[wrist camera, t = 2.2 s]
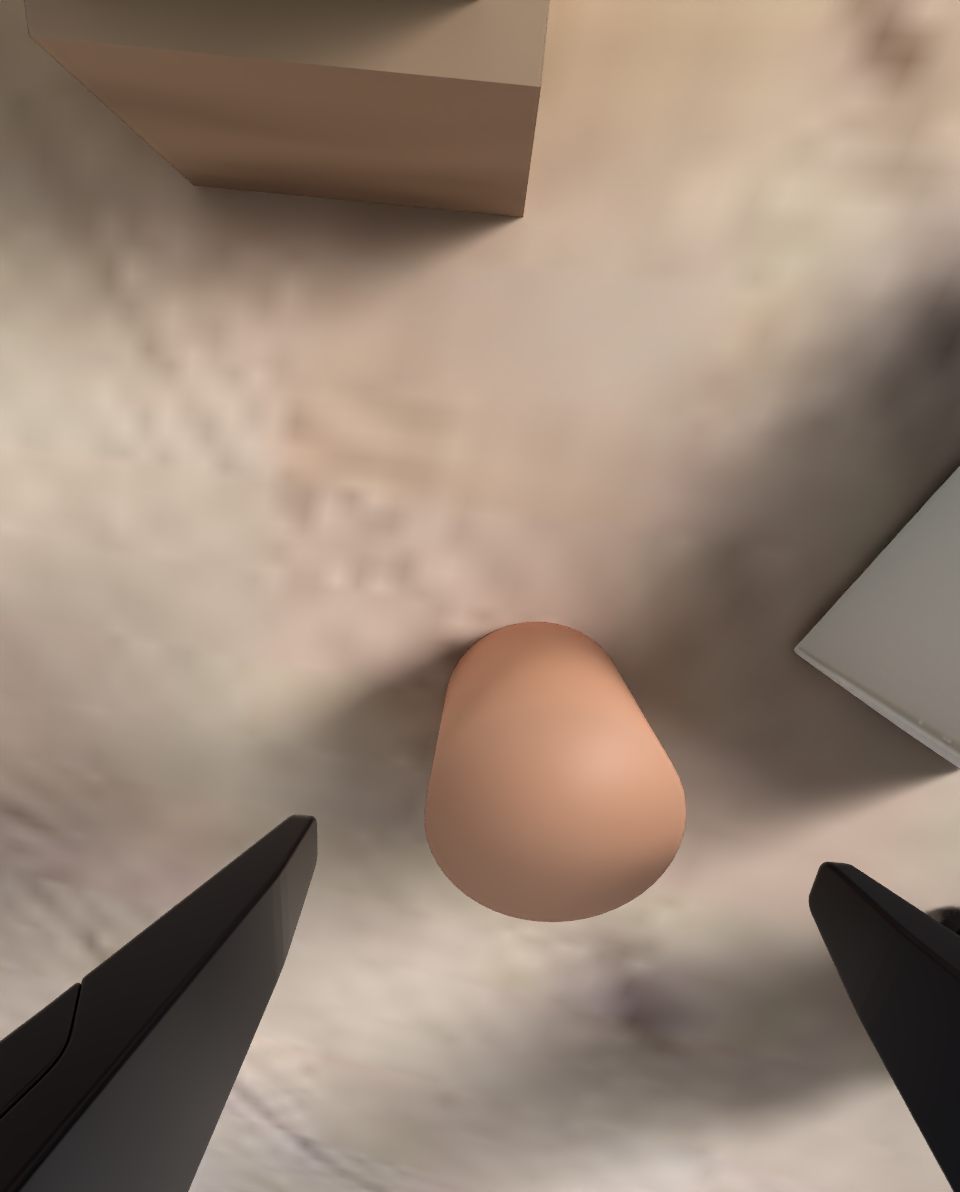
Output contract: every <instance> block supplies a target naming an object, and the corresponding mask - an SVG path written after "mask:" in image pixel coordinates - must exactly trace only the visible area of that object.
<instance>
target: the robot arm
mask: <svg viewBox="0 0 960 1192" xmlns="http://www.w3.org/2000/svg"><path fill="white" fill-rule="evenodd" d="M316 861H317V822H316V819H315V818H314V817H313V816H305V815H292V816H290V817H289V818H287V819H286V820H285V821H283V822H282V823H281V824H280V825H278V826H277V827H276V828H274V829H273V830H272V831H271V832H269V833H268V834H267V835H265V836H264V837H263V838H262V839H260V840H259V841H258V842H256V843H255V844H254V845H253V846H251V847H250V848H249V849H248V850H246V851H245V852H244V853H242V854H241V855H240V856H239V857H237V858H236V859H235V860H233V861H232V862H231V863H230V864H228V865H227V866H226V867H224V868H223V869H222V870H221V871H219V872H218V873H217V874H216V875H214V876H213V877H212V878H210V879H209V880H208V881H207V882H205V883H204V884H203V885H201V886H200V887H199V888H198V889H196V890H195V891H194V892H192V893H191V894H190V895H189V896H187V897H186V898H185V899H183V900H182V901H181V902H180V903H178V904H177V905H176V906H175V907H173V908H172V909H171V910H169V911H168V912H167V913H166V914H164V915H163V916H162V917H160V918H159V919H158V920H157V921H155V922H154V923H153V924H151V925H150V926H149V927H148V928H146V929H145V930H144V931H143V932H141V933H140V934H139V935H137V936H136V937H135V938H134V939H132V940H131V941H130V942H128V943H127V944H126V945H125V946H123V947H122V948H121V949H119V950H118V951H117V952H116V953H114V954H113V955H112V956H111V957H109V958H108V959H107V960H105V961H104V962H103V963H102V964H100V965H99V966H98V967H96V968H95V969H94V970H93V971H91V972H90V973H89V974H87V975H86V976H85V977H84V978H83V980H82V983H81V984H80V983H76V984H74V985H73V986H72V987H70V988H69V989H68V990H67V991H65V992H64V993H63V994H62V995H60V996H59V997H58V998H56V999H55V1000H54V1001H53V1002H51V1003H50V1004H49V1005H47V1006H46V1007H45V1008H44V1009H42V1010H41V1011H40V1012H38V1013H37V1014H36V1015H34V1016H33V1017H32V1018H30V1019H29V1020H28V1021H26V1022H25V1023H24V1024H22V1025H21V1026H20V1027H18V1028H17V1029H16V1030H14V1031H13V1032H12V1033H10V1034H9V1035H8V1036H7V1037H5V1038H4V1039H3V1040H1V1041H0V1192H188V1191H189V1188H190V1186H191V1183H192V1181H193V1179H194V1176H195V1174H196V1172H197V1169H198V1167H199V1165H200V1162H201V1160H202V1158H203V1155H204V1153H205V1150H206V1148H207V1146H208V1143H209V1141H210V1139H211V1136H212V1134H213V1132H214V1129H215V1127H216V1125H217V1122H218V1120H219V1117H220V1115H221V1113H222V1110H223V1108H224V1106H225V1103H226V1101H227V1099H228V1096H229V1094H230V1092H231V1089H232V1087H233V1084H234V1082H235V1080H236V1077H237V1075H238V1073H239V1070H240V1068H241V1066H242V1063H243V1061H244V1059H245V1056H246V1054H247V1051H248V1049H249V1047H250V1044H251V1042H252V1040H253V1037H254V1035H255V1033H256V1030H257V1028H258V1026H259V1023H260V1021H261V1018H262V1016H263V1014H264V1011H265V1009H266V1007H267V1004H268V1002H269V1000H270V997H271V995H272V993H273V990H274V988H275V985H276V983H277V981H278V978H279V976H280V973H281V971H282V968H283V966H284V963H285V960H286V957H287V954H288V951H289V948H290V945H291V942H292V939H293V935H294V932H295V929H296V926H297V923H298V920H299V916H300V913H301V910H302V907H303V904H304V901H305V898H306V894H307V891H308V888H309V885H310V882H311V879H312V875H313V872H314V869H315V865H316ZM809 907H810V911H811V913H812V916H813V918H814V920H815V922H816V925H817V927H818V929H819V931H820V934H821V936H822V938H823V940H824V942H825V945H826V947H827V949H828V951H829V953H830V956H831V958H832V960H833V962H834V965H835V967H836V969H837V971H838V973H839V976H840V978H841V980H842V982H843V984H844V987H845V989H846V991H847V993H848V996H849V998H850V1000H851V1002H852V1004H853V1006H854V1008H855V1010H856V1012H857V1014H858V1016H859V1018H860V1020H861V1022H862V1024H863V1026H864V1028H865V1030H866V1032H867V1034H868V1036H869V1037H870V1039H871V1041H872V1043H873V1045H874V1047H875V1048H876V1050H877V1052H878V1054H879V1056H880V1058H881V1059H882V1061H883V1063H884V1065H885V1067H886V1069H887V1070H888V1072H889V1074H890V1076H891V1078H892V1080H893V1081H894V1083H895V1085H896V1087H897V1089H898V1091H899V1092H900V1094H901V1096H902V1098H903V1100H904V1102H905V1103H906V1105H907V1107H908V1109H909V1111H910V1113H911V1114H912V1116H913V1118H914V1120H915V1122H916V1124H917V1126H918V1127H919V1129H920V1131H921V1133H922V1135H923V1137H924V1138H925V1140H926V1142H927V1144H928V1146H929V1148H930V1149H931V1151H932V1153H933V1155H934V1157H935V1159H936V1160H937V1162H938V1164H939V1166H940V1168H941V1170H942V1171H943V1173H944V1175H945V1177H946V1179H947V1181H948V1182H949V1184H950V1186H951V1188H952V1190H953V1192H960V912H956V913H953V914H951V915H950V916H948V917H947V918H946V919H945V920H944V922H943V923H942V924H940V923H939V922H937V921H936V920H934V919H933V918H931V917H930V916H928V915H927V914H925V913H924V912H922V911H921V910H919V909H918V908H916V907H914V906H913V905H911V904H910V903H908V902H907V901H905V900H904V899H902V898H901V897H899V896H898V895H896V894H895V893H893V892H892V891H890V890H889V889H887V888H886V887H884V886H883V885H881V884H880V883H878V882H876V881H875V880H873V879H872V878H870V877H869V876H867V875H866V874H864V873H863V872H861V871H860V870H858V869H857V868H855V867H854V866H852V865H849V864H846V863H836V862H824V863H823V864H822V865H821V866H820V867H819V870H818V873H817V875H816V878H815V881H814V883H813V886H812V889H811V892H810V894H809Z"/></svg>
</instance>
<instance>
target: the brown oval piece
mask: <svg viewBox="0 0 960 1192" xmlns="http://www.w3.org/2000/svg"><path fill="white" fill-rule="evenodd" d="M685 823H686V802H685V795H684V791H683V787H682V784H681V781H680V778H679V776H678V774H677V772H676V770H675V768H674V766H673V764H672V763H671V761H670V759H669V758H668V756H667V754H666V752H665V751H664V749H663V747H662V746H661V744H660V742H659V740H658V739H657V737H656V735H655V734H654V732H653V730H652V729H651V727H650V725H649V723H648V722H647V720H646V718H645V717H644V715H643V713H642V711H641V710H640V708H639V706H638V705H637V703H636V701H635V699H634V698H633V696H632V694H631V693H630V691H629V689H628V687H627V686H626V684H625V682H624V681H623V679H622V677H621V675H620V674H619V672H618V670H617V669H616V667H615V665H614V663H613V662H612V660H611V659H610V658H609V656H608V655H607V653H606V652H605V651H604V650H603V649H602V648H601V647H600V646H599V645H598V644H597V643H595V642H594V641H593V640H592V639H590V638H589V637H587V636H585V635H584V634H582V633H580V632H578V631H576V630H574V629H571V628H569V627H566V626H562V625H559V624H553V623H547V622H527V623H519V624H514V625H510V626H507V627H504V628H501V629H498V630H496V631H494V632H492V633H490V634H488V635H486V636H485V637H483V638H482V639H480V640H479V641H477V642H476V643H475V644H474V645H473V646H472V647H471V648H469V649H468V650H467V652H466V653H465V654H464V655H463V656H462V657H461V659H460V660H459V662H458V663H457V665H456V666H455V668H454V670H453V673H452V675H451V677H450V680H449V684H448V687H447V692H446V697H445V703H444V708H443V713H442V719H441V724H440V729H439V734H438V740H437V745H436V750H435V756H434V761H433V766H432V772H431V777H430V782H429V787H428V793H427V798H426V805H425V830H426V836H427V840H428V843H429V846H430V849H431V852H432V854H433V856H434V858H435V860H436V862H437V864H438V865H439V867H440V868H441V870H442V871H443V872H444V874H445V875H446V877H447V878H448V879H449V880H450V881H451V882H452V883H453V884H454V885H455V886H456V887H457V888H458V889H460V890H461V891H462V892H463V893H464V894H466V895H467V896H468V897H470V898H471V899H473V900H475V901H476V902H478V903H479V904H481V905H483V906H485V907H487V908H489V909H491V910H494V911H496V912H499V913H502V914H505V915H508V916H512V917H516V918H520V919H525V920H532V921H542V922H561V921H573V920H579V919H585V918H589V917H593V916H597V915H600V914H603V913H606V912H608V911H611V910H614V909H616V908H618V907H620V906H622V905H624V904H626V903H628V902H630V901H631V900H633V899H634V898H636V897H637V896H639V895H640V894H642V893H643V892H644V891H645V890H647V889H648V888H649V887H650V886H651V885H653V884H654V883H655V882H656V881H657V879H658V878H659V877H660V876H661V875H662V874H663V873H664V872H665V870H666V869H667V867H668V866H669V865H670V863H671V862H672V860H673V858H674V856H675V854H676V852H677V851H678V849H679V846H680V843H681V840H682V837H683V834H684V828H685Z"/></svg>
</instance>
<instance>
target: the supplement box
mask: <svg viewBox="0 0 960 1192" xmlns="http://www.w3.org/2000/svg"><path fill="white" fill-rule="evenodd" d="M794 651H795V653H796V654H797V655H799V656H800V657H801V658H803V659H804V660H806V661H807V662H808V663H810V664H811V665H813V666H814V667H815V668H817V669H818V670H819V671H821V672H822V673H824V674H825V675H826V676H828V677H829V678H830V679H832V680H833V681H835V682H836V683H837V684H839V685H840V686H842V687H843V688H845V689H846V690H847V691H849V692H850V693H852V694H853V695H854V696H856V697H857V698H859V699H860V700H861V701H863V702H864V703H866V704H867V705H868V706H870V707H871V708H873V709H874V710H875V711H877V712H878V713H880V714H881V715H882V716H884V717H885V718H887V719H888V720H889V721H891V722H892V723H894V724H895V725H896V726H898V727H899V728H901V729H902V730H904V731H905V732H907V733H908V734H910V735H911V736H912V737H914V738H915V739H917V740H918V741H920V742H921V743H923V744H924V745H926V746H927V747H929V748H930V749H932V750H933V751H934V752H936V753H937V754H939V755H940V756H942V757H943V758H945V759H946V760H948V761H949V762H951V763H952V764H954V765H955V766H956V767H958V768H959V769H960V466H959V467H958V468H957V469H956V470H955V472H954V473H953V474H952V475H951V476H950V477H949V478H948V479H947V480H946V481H945V482H944V484H943V485H942V486H941V487H940V488H939V489H938V490H937V491H936V492H935V493H934V494H933V495H932V496H931V498H930V499H929V500H928V501H927V502H926V503H925V504H924V505H923V507H922V508H921V509H920V510H919V511H918V512H917V514H916V515H915V516H914V517H913V518H912V519H911V520H910V521H909V522H908V523H907V524H906V525H905V527H904V528H903V529H902V530H901V531H900V532H899V533H898V534H897V536H896V537H895V538H894V539H893V540H892V541H891V542H890V543H889V545H888V546H887V547H886V548H885V549H884V550H883V551H882V552H881V553H880V554H879V555H878V556H877V558H876V559H875V560H874V561H873V562H872V563H871V565H870V566H869V567H868V568H867V569H866V570H865V571H864V572H863V573H862V575H861V576H860V577H859V578H858V579H857V580H856V581H855V582H854V583H853V584H852V585H851V586H850V587H849V589H848V590H847V591H846V592H845V593H844V594H843V595H842V596H841V597H840V599H839V600H838V601H837V602H836V603H835V604H834V605H833V606H832V607H831V609H830V610H829V611H828V612H827V613H826V614H825V615H824V617H823V618H822V619H821V620H820V621H819V622H818V623H817V624H816V625H815V626H814V627H813V628H812V630H811V631H810V632H809V633H808V634H807V635H806V636H805V637H804V638H803V639H802V640H801V642H800V643H799V644H798V645H797V646H796V647H795V649H794Z"/></svg>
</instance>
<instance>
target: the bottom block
mask: <svg viewBox="0 0 960 1192" xmlns="http://www.w3.org/2000/svg"><path fill="white" fill-rule="evenodd" d="M549 1H550V0H24V4H25V11H26V17H27V24H28V31H29V36H30V37H31V38H32V39H33V40H34V41H35V42H36V43H37V44H39V45H40V46H41V47H42V48H43V49H44V50H45V51H46V52H47V53H48V54H50V55H51V56H52V57H53V58H54V59H55V60H56V61H57V62H58V63H59V64H61V65H62V66H63V67H64V68H65V69H66V70H67V71H68V72H69V73H71V74H72V75H73V76H74V77H75V78H76V79H77V80H78V81H79V82H80V83H82V84H83V85H84V86H85V87H86V88H87V89H88V90H89V91H90V92H92V93H93V94H94V95H95V96H96V97H97V98H98V99H99V100H100V101H101V102H103V103H104V104H105V105H106V106H107V107H108V108H109V109H110V110H111V111H113V112H114V113H115V114H116V115H117V116H118V117H119V118H120V119H121V120H122V121H124V122H125V123H126V124H127V125H128V126H129V127H130V128H131V129H132V130H134V131H135V132H136V133H137V134H138V135H139V136H140V137H141V138H142V139H143V140H145V141H146V142H147V143H148V144H149V145H150V146H151V147H152V148H153V149H155V150H156V151H157V152H158V153H159V154H160V155H161V156H162V157H163V158H164V159H166V160H167V161H168V162H169V163H170V164H171V165H172V166H173V167H174V168H176V169H177V170H178V171H179V172H180V173H181V174H182V175H183V176H184V177H185V178H187V179H188V180H189V181H190V182H191V183H192V184H193V185H197V186H208V187H218V188H228V189H238V190H249V191H259V192H269V193H280V194H290V195H300V196H310V197H321V198H331V199H341V200H352V201H362V202H372V203H382V204H393V205H403V206H413V207H424V208H434V209H444V210H454V211H465V212H475V213H485V214H495V215H506V216H516V217H523V213H524V206H525V199H526V191H527V184H528V177H529V170H530V162H531V155H532V148H533V140H534V133H535V126H536V118H537V111H538V104H539V97H540V89H541V80H542V70H543V60H544V50H545V41H546V31H547V21H548V11H549Z"/></svg>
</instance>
